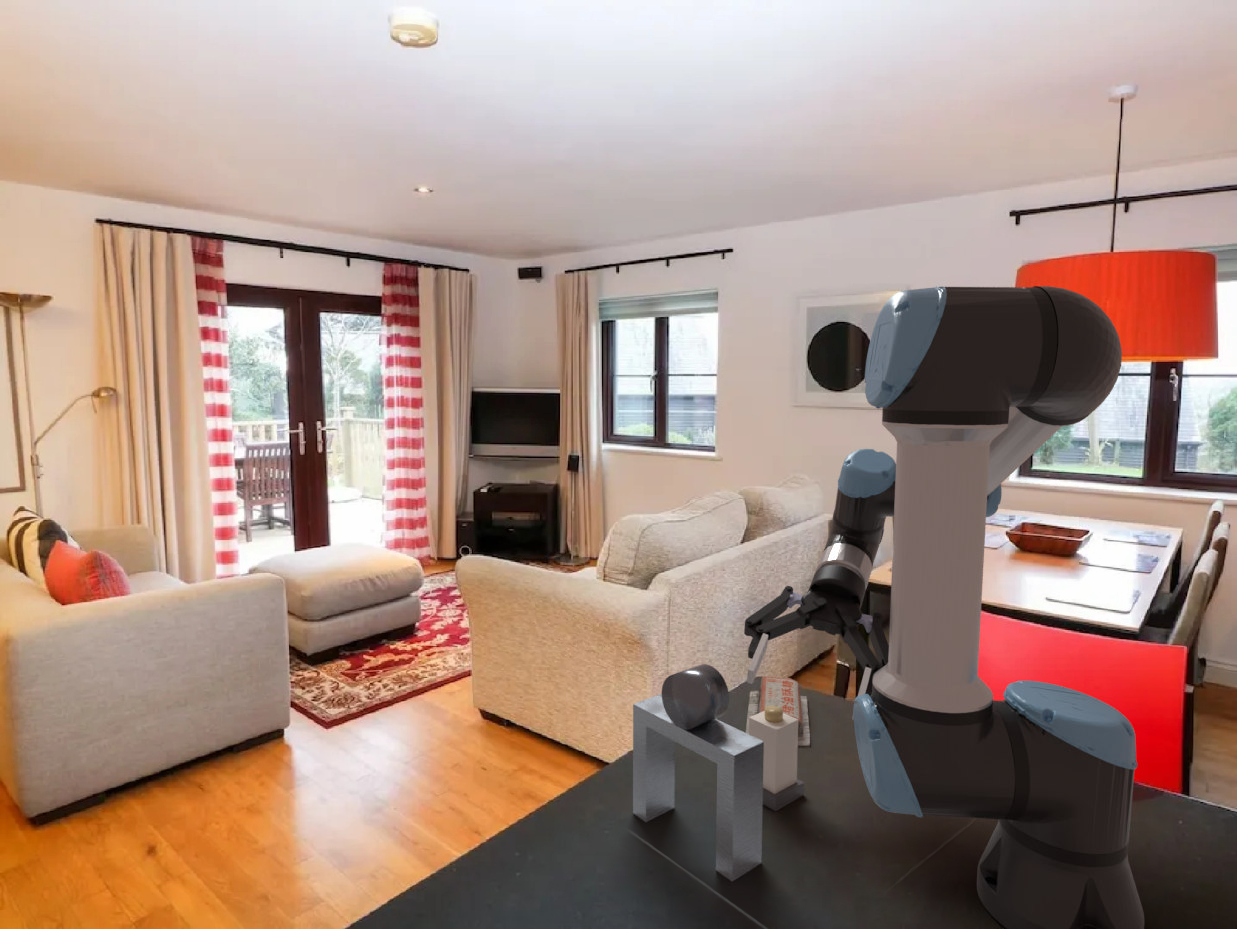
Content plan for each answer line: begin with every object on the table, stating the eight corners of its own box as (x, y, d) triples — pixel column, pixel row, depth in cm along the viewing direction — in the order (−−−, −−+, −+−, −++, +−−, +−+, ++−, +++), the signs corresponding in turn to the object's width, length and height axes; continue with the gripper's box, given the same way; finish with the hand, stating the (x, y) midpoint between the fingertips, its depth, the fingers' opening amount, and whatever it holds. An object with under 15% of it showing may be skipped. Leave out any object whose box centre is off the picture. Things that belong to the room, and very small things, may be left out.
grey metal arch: (761, 865, 85) (765, 687, 83) (732, 883, 82) (735, 699, 79) (661, 801, 98) (662, 646, 96) (633, 815, 95) (633, 655, 93)
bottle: (803, 795, 99) (806, 711, 98) (775, 811, 95) (777, 724, 94) (768, 776, 104) (770, 696, 102) (740, 791, 100) (741, 708, 98)
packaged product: (750, 671, 131) (807, 676, 129) (749, 697, 132) (806, 702, 130) (745, 715, 114) (811, 721, 112) (744, 744, 114) (810, 751, 112)
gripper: (924, 625, 106) (898, 748, 91) (756, 575, 115) (708, 679, 100) (935, 589, 101) (910, 713, 86) (759, 540, 110) (709, 644, 96)
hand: (801, 695), depth 93 cm, fingers open, 13 cm apart
